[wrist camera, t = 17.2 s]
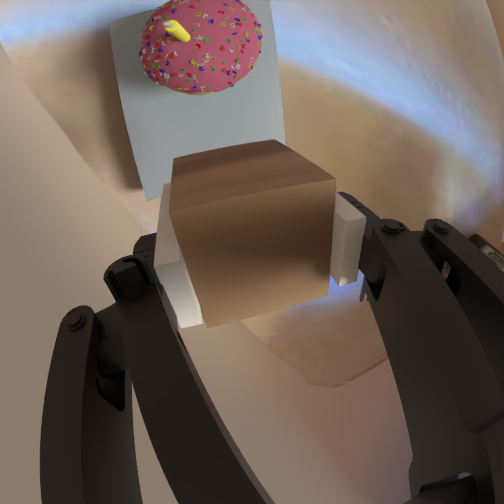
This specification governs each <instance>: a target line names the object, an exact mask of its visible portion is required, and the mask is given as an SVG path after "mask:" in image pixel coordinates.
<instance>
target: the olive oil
mask: <svg viewBox="0 0 504 504" xmlns="http://www.w3.org/2000/svg"><path fill="white" fill-rule="evenodd" d="M469 241H471V242H472V243H473V244H474V245H475V246H476V247H478V248H479V249H480V250H481V251H482V252H483V253H484V254H485V255H486V256H487V257H489V258H490V259H491V260H492V261H493V262H494V263H495V264H496V265H497V266H498V267H499V268H500V269H501V270H502V271H503V272H504V255H503V254H502V253H501V252H500V251H499V250H497V249H496V248H495V247H494V246H492V245H491V244H490V243H489V242H487V241H486V240H485V239H484V238H482V237H481V236H480V235H474V236H473V237H472V238H471V239H470V240H469Z"/></svg>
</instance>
